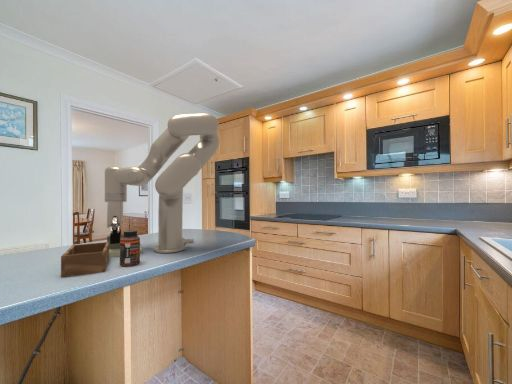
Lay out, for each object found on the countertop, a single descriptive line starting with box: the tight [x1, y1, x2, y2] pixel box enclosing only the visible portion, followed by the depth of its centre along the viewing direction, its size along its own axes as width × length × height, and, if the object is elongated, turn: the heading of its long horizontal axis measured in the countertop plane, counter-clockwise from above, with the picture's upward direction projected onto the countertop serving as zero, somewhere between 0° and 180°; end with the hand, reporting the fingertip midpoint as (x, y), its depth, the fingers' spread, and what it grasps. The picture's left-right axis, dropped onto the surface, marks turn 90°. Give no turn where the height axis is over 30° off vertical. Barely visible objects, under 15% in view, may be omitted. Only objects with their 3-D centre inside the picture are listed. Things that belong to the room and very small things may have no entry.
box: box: [60, 241, 110, 278], centre depth 76 cm, size 16×11×6 cm
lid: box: [106, 234, 143, 258], centre depth 93 cm, size 18×13×7 cm
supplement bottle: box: [119, 229, 141, 267], centre depth 79 cm, size 6×6×11 cm
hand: (115, 241), depth 93 cm, fingers open, 9 cm apart
